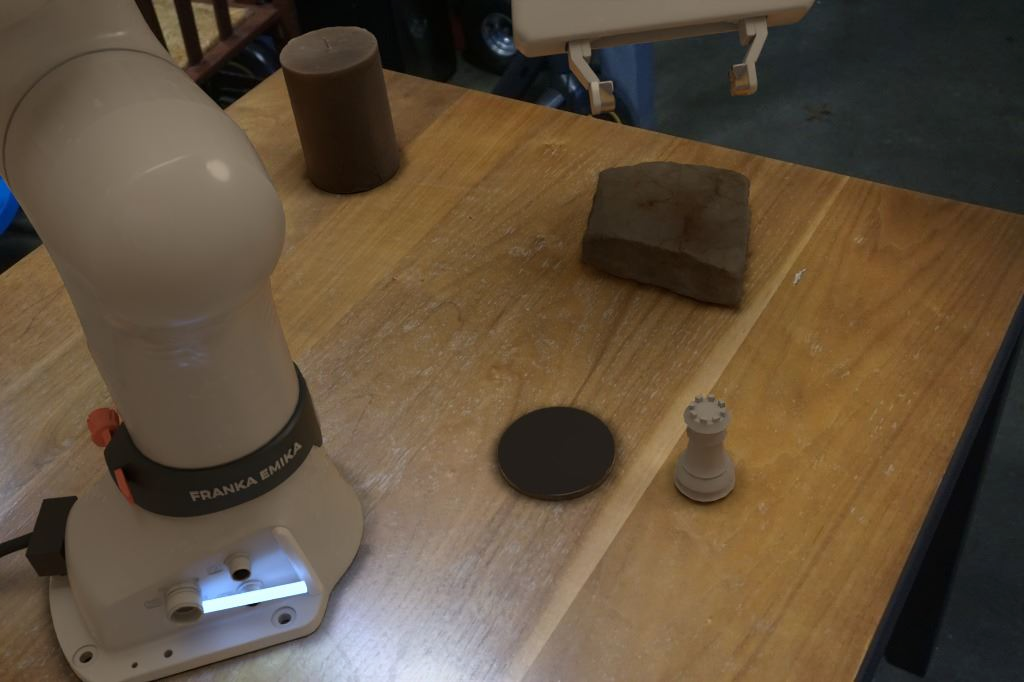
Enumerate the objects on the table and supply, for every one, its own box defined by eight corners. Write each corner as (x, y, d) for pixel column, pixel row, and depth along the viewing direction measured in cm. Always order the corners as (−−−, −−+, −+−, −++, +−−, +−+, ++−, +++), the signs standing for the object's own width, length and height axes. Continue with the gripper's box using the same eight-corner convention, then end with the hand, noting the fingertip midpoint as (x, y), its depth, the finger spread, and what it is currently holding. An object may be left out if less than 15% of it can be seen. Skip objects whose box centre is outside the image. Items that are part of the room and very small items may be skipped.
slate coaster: (531, 519, 80) (531, 513, 79) (478, 439, 86) (477, 434, 85) (638, 469, 82) (638, 464, 82) (578, 395, 88) (578, 390, 88)
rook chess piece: (745, 472, 81) (751, 396, 76) (719, 514, 79) (724, 439, 73) (689, 450, 83) (692, 375, 78) (663, 491, 80) (663, 416, 75)
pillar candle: (370, 201, 111) (342, 68, 100) (290, 184, 114) (255, 53, 104) (417, 150, 117) (394, 19, 107) (340, 135, 120) (310, 7, 110)
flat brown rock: (741, 310, 94) (743, 272, 91) (572, 296, 97) (569, 259, 95) (755, 195, 106) (758, 159, 103) (604, 187, 109) (602, 151, 106)
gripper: (492, -102, 71) (519, 110, 70) (808, -142, 71) (837, 70, 70) (494, -62, 77) (519, 133, 76) (784, -99, 77) (811, 95, 76)
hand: (674, 102), depth 73 cm, fingers open, 8 cm apart
